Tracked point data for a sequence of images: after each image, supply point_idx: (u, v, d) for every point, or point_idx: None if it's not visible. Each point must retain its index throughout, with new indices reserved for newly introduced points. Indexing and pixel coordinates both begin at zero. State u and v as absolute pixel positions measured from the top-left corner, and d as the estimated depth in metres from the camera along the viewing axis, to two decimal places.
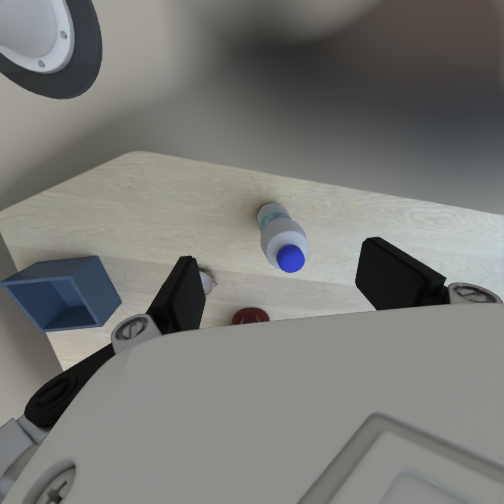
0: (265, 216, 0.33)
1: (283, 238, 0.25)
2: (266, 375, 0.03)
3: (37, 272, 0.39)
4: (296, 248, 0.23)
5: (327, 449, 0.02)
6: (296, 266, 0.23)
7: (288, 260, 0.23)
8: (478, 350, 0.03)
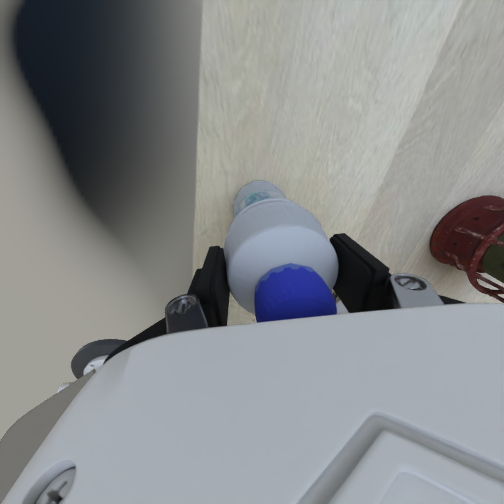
0: None
1: (244, 297, 0.10)
2: (266, 375, 0.03)
3: None
4: (257, 302, 0.08)
5: (327, 449, 0.02)
6: None
7: None
8: (478, 350, 0.03)
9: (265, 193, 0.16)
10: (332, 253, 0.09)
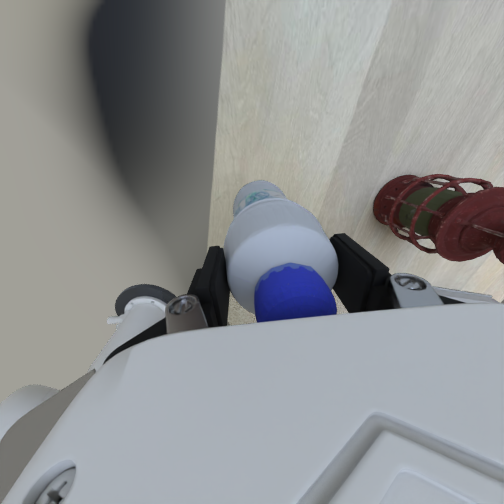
0: None
1: (244, 296, 0.10)
2: (266, 375, 0.03)
3: None
4: (257, 301, 0.08)
5: (327, 449, 0.02)
6: None
7: None
8: (478, 350, 0.03)
9: (265, 193, 0.16)
10: (332, 252, 0.09)
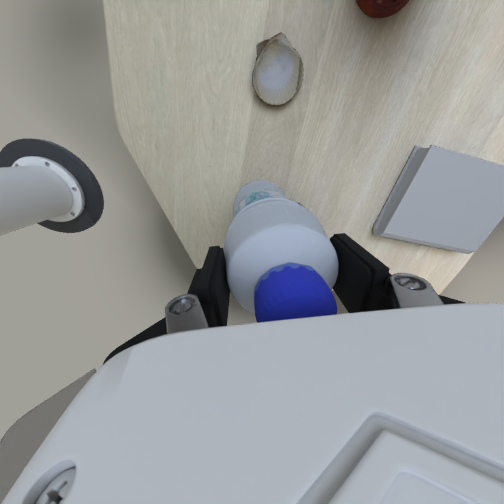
0: None
1: (244, 296, 0.10)
2: (266, 375, 0.03)
3: None
4: (257, 301, 0.08)
5: (327, 449, 0.02)
6: None
7: None
8: (478, 350, 0.03)
9: (265, 192, 0.16)
10: (332, 252, 0.09)
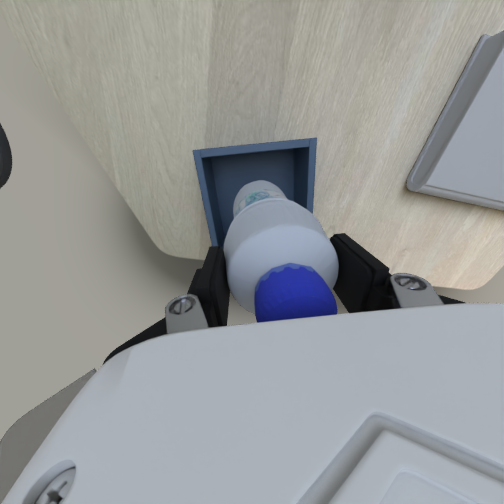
0: None
1: (244, 297, 0.10)
2: (265, 375, 0.03)
3: None
4: (257, 302, 0.08)
5: (327, 449, 0.02)
6: None
7: None
8: (478, 350, 0.03)
9: (265, 193, 0.16)
10: (332, 253, 0.09)
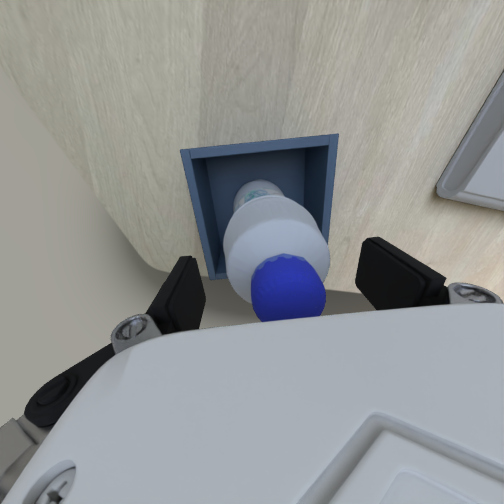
0: None
1: (242, 286, 0.11)
2: (266, 375, 0.03)
3: None
4: (253, 288, 0.09)
5: (327, 449, 0.02)
6: (304, 302, 0.08)
7: None
8: (478, 350, 0.03)
9: (263, 191, 0.17)
10: (323, 245, 0.10)
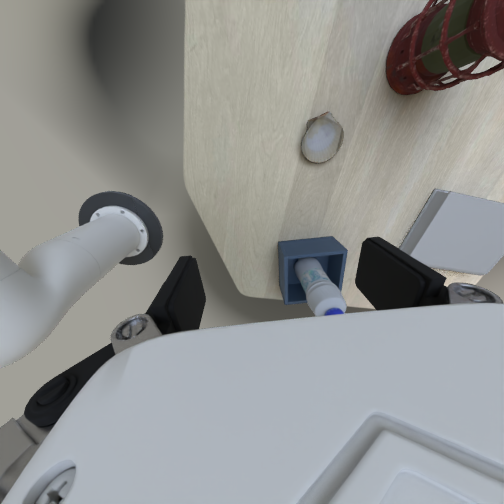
0: None
1: (319, 315, 0.35)
2: (266, 375, 0.03)
3: (282, 282, 0.47)
4: None
5: (327, 449, 0.02)
6: None
7: None
8: (478, 350, 0.03)
9: (317, 272, 0.41)
10: (344, 303, 0.35)
